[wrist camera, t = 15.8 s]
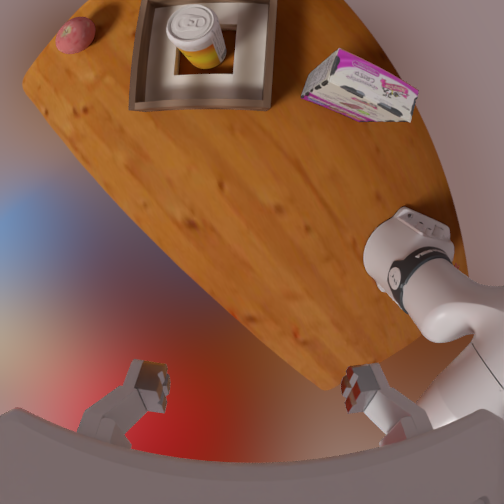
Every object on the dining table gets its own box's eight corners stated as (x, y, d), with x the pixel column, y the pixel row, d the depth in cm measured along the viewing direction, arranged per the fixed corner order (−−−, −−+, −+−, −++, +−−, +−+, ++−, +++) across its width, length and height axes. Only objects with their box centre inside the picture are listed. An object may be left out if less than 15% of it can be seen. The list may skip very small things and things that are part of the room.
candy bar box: (367, 97, 37) (421, 90, 23) (359, 122, 39) (412, 125, 25) (307, 72, 36) (339, 45, 21) (298, 98, 38) (327, 82, 23)
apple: (78, 24, 28) (56, 15, 21) (107, 22, 29) (87, 10, 22) (66, 57, 31) (42, 52, 24) (94, 56, 32) (71, 49, 25)
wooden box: (273, 7, 30) (277, -11, 24) (266, 111, 39) (270, 107, 33) (155, 10, 29) (142, -4, 23) (145, 111, 38) (128, 110, 32)
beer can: (193, 37, 33) (170, 1, 19) (230, 40, 33) (222, 3, 20) (185, 68, 35) (158, 43, 22) (222, 71, 36) (211, 45, 22)
